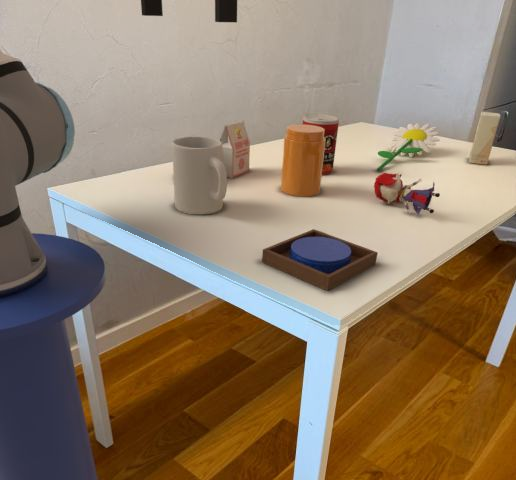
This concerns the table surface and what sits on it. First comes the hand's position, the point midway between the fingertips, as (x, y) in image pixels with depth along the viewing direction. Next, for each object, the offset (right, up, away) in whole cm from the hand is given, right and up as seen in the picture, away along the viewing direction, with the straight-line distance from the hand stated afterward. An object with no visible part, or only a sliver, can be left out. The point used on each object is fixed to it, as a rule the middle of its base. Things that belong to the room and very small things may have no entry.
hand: (187, 19), depth 60 cm
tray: (+17, -28, +12) cm, 35 cm away
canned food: (+21, 0, +52) cm, 57 cm away
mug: (-1, -15, +29) cm, 32 cm away
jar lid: (+17, -26, +11) cm, 33 cm away
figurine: (+36, -14, +34) cm, 51 cm away
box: (+63, +6, +65) cm, 91 cm away
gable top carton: (+3, -2, +48) cm, 48 cm away
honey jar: (+17, -8, +40) cm, 44 cm away
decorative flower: (+44, +7, +64) cm, 78 cm away
